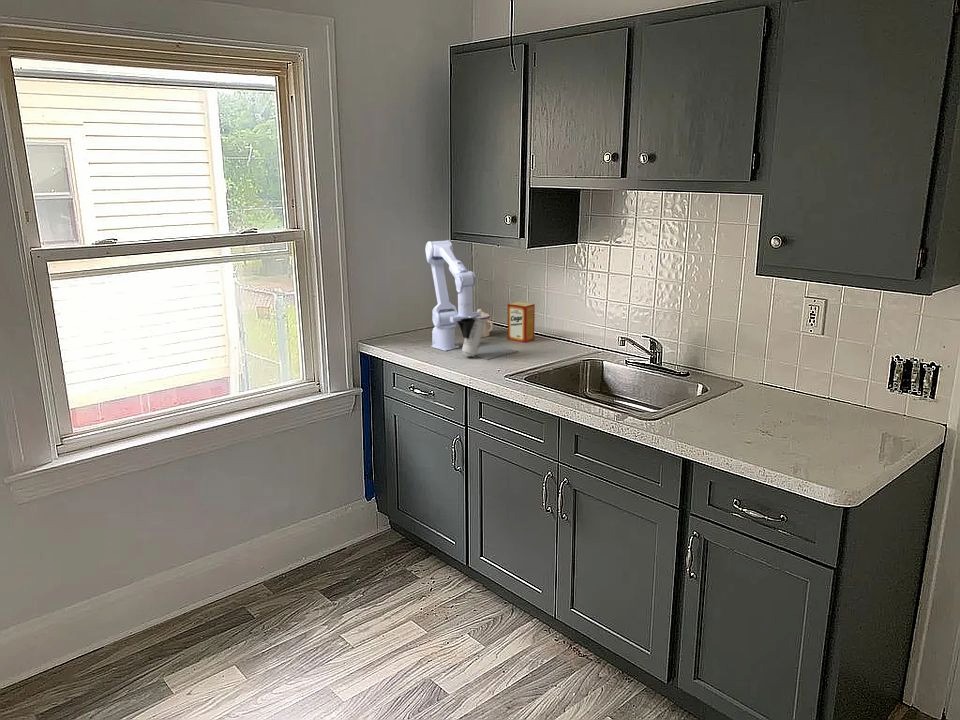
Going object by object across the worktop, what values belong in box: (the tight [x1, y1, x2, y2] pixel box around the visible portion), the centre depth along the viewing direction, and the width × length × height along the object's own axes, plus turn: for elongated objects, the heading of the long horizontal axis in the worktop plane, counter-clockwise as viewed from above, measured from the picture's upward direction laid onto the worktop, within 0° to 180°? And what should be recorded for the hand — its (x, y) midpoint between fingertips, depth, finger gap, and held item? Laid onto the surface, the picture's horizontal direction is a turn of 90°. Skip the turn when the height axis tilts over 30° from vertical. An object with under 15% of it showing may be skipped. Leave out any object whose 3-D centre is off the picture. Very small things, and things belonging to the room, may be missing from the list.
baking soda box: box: [507, 301, 536, 344], centre depth 318 cm, size 10×6×16 cm
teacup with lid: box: [476, 308, 494, 338], centre depth 326 cm, size 12×9×12 cm
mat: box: [474, 344, 519, 361], centre depth 300 cm, size 15×17×1 cm
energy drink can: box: [461, 317, 484, 357], centre depth 292 cm, size 6×6×15 cm
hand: (466, 337), depth 290 cm, fingers closed
